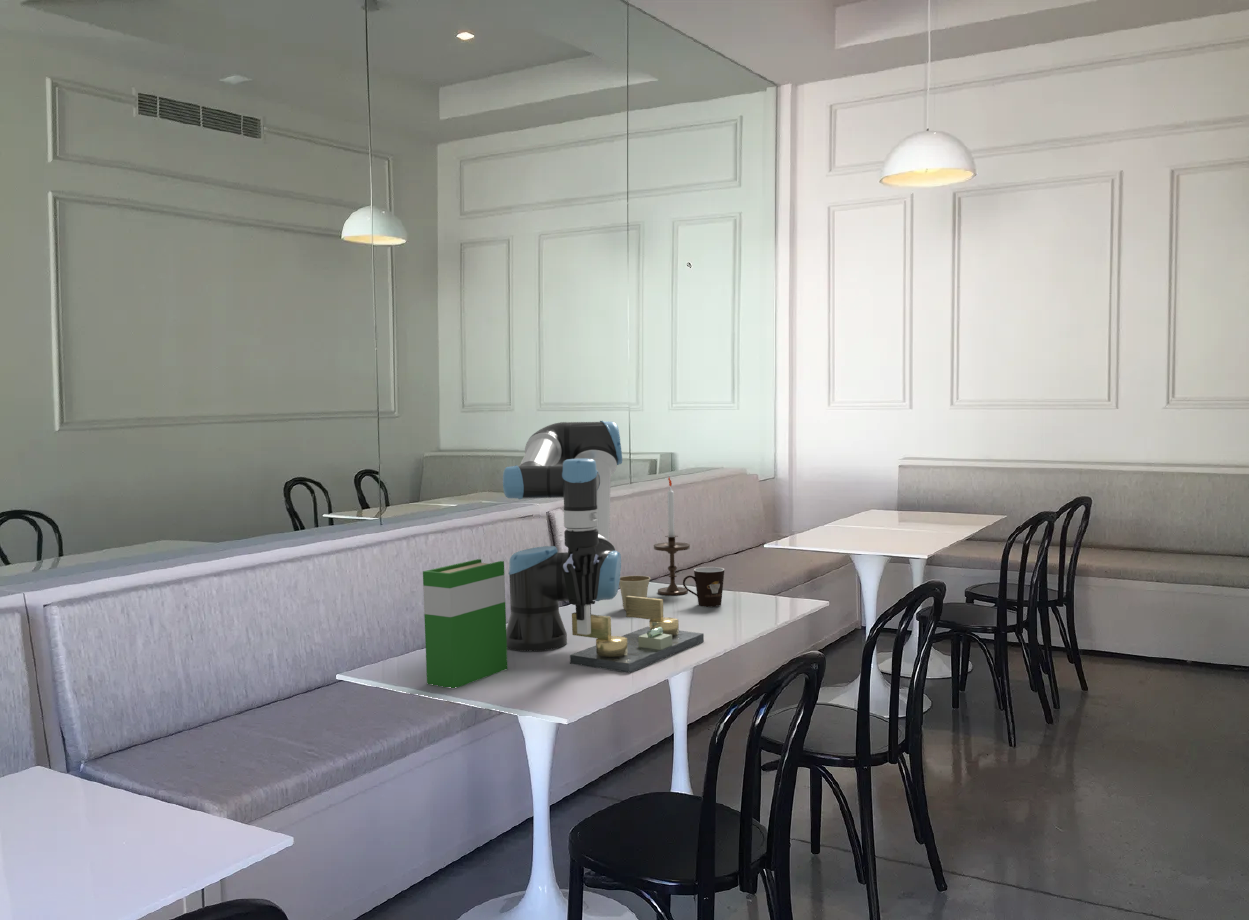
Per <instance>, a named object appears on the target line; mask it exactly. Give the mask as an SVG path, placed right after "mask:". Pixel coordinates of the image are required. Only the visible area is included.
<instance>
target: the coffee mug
mask: <svg viewBox="0 0 1249 920" xmlns="http://www.w3.org/2000/svg"><path fill="white" fill-rule="evenodd" d="M693 574H694V575H687V576H685V577H684V578H683V579H682V585H683V588H686V589H687V590H688V593H691V594H692V595H694V596H696V598H697V603H698V606H699V607H704V608H716V607H720V606H722V600H723V589H724V580H725V579H724V577H725V568H723V567H719V566H717V567H716V566H702V567H696V568H694V569H693ZM689 578H692V579H693V581H694V582H695V589H696V590H695V591H696V592H694V591H692V590H691V589H689V588H688V587H687V585H686V581H687V580H688V579H689Z"/></svg>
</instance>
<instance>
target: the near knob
mask: <svg viewBox="0 0 1249 920" xmlns="http://www.w3.org/2000/svg"><path fill="white" fill-rule="evenodd" d="M571 625H572V626H571V627H572V628H571V629H572V631H571V634H572V636H578V637H584V638H591V639H592V638H593V639H595V646H596V654H597V655H599V656H605V657H616V656H622V655H625V654H627V653H628V645H627V638H625V637H622V636H623V635H621V636H619V635H612V616H608V615H599V614H593V613H591V634H588V635H584V634H577V619H576V611H575V612H572V613H571Z"/></svg>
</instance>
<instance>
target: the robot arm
mask: <svg viewBox="0 0 1249 920" xmlns="http://www.w3.org/2000/svg"><path fill="white" fill-rule="evenodd" d="M622 463H623V452H622V445H621V436H620V430H619V426H618V424H617V423H616V422H614V421H605V420H599V421H571V422H569V421H563V422H562V421H561V422H555V423H552V424H549V425H545V426H544V427H542V428H540V429H539V430H537V431H535V432H534V433H533V434H532V435H531V436H529V438H528V440H527V442H526V443H525V446H524V455H523V458H522V459H521V461H520V464H519V465H514V466H513V465H512V466H506V467H505V468H504V470H503V472H502V473H503V474H502V487H503V494H504V496H505V497H506V498H507V499H514V500H515V499H517V500H522V499H523V500H526V499H556V498H557V499H558V498H559V499H560V498H561V499H563V527H564V528H565V531H564V536H563V537H564V546H565V547H567V552H559V550H558V548H557V546H555V545H546V546H545V545H544V546H538V547H537V546H536V547H532V548H526V549H522V550H519V551H517V552H514V553H513V554H512V555H511V556H510V557H509V563H508V564H509V566H508V567H509V569H508V576H509V598H510V599H509V600H510V603H509V604H510V605H509V606H510V613H509V614H510V615H509V619H508V621H507V624H506V637H507V650H508V649H509V650H510V651H511V650H513V651H520V652H542V651H550V650H555V649H559V648H562V647H564V646H566V645H567V644H568V634H567V633H568V632H567V631H566V628H565V627H566V626H564V625H565V624H564V622H563V619H562V617H561V614H560V607H559V605H560V603H559V602H568V603H569V604H571V605H573V606H575V612H576V619H577V634H584V635H588V634H591V614H592V605H595V604H596V602H599V601H608V600H613V599H614V598H615V597H616V596H617V594H618V591H619V588H620V585H619V582H620V577H621V571H622V570H621V569H622V555H621V552H619V551H617V550H616V547H615V545H614V544H613V543H612V541H610V529H611V528H610V524H611V523H610V522H611V482H612V481H611V479H612V478H611V477H612V475H613V474H614V473H615V471H616V470H617V468H618V467H617V466H619V465H622Z"/></svg>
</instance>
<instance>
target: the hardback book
mask: <svg viewBox="0 0 1249 920" xmlns="http://www.w3.org/2000/svg"><path fill="white" fill-rule="evenodd" d="M505 576H506V575H505V561H503V560H499V561H495V562H491V563H487V562H482V558H481V559H480V558H476V559H473V560H468V561H464V562H463V561H462V562H460V563H454V564H450V565H446V566H441V567H436V568H431V569H428V570H423V571H422V584H423V585H422V586H423V611H424V612H423V613H424V615H423V616H424V637H425V638H424V640H425V642H424V643H425V644H424V645H425V665H426V667H425V668H426V684H427V683H428V684H433V685H432V686H434V685H438V686H437V687H440V686H443V687H442V688H445V687H451V688H455V687H457V688H460V687H463V686H466V685H468V684H470V683H472V682H473V681H474V682H476V681H479V680H482V679H484V678H487V677H489V676H492V675H495V674H498V673H501V672H504V671H506V670H508V648H507V637H506V629H507V616H506V615H507V613H506V612H507V610H506V607H507V606H506V584H505V583H506V581H505ZM428 684H427V685H428ZM451 688H450V689H451ZM455 689H456V688H455Z"/></svg>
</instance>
